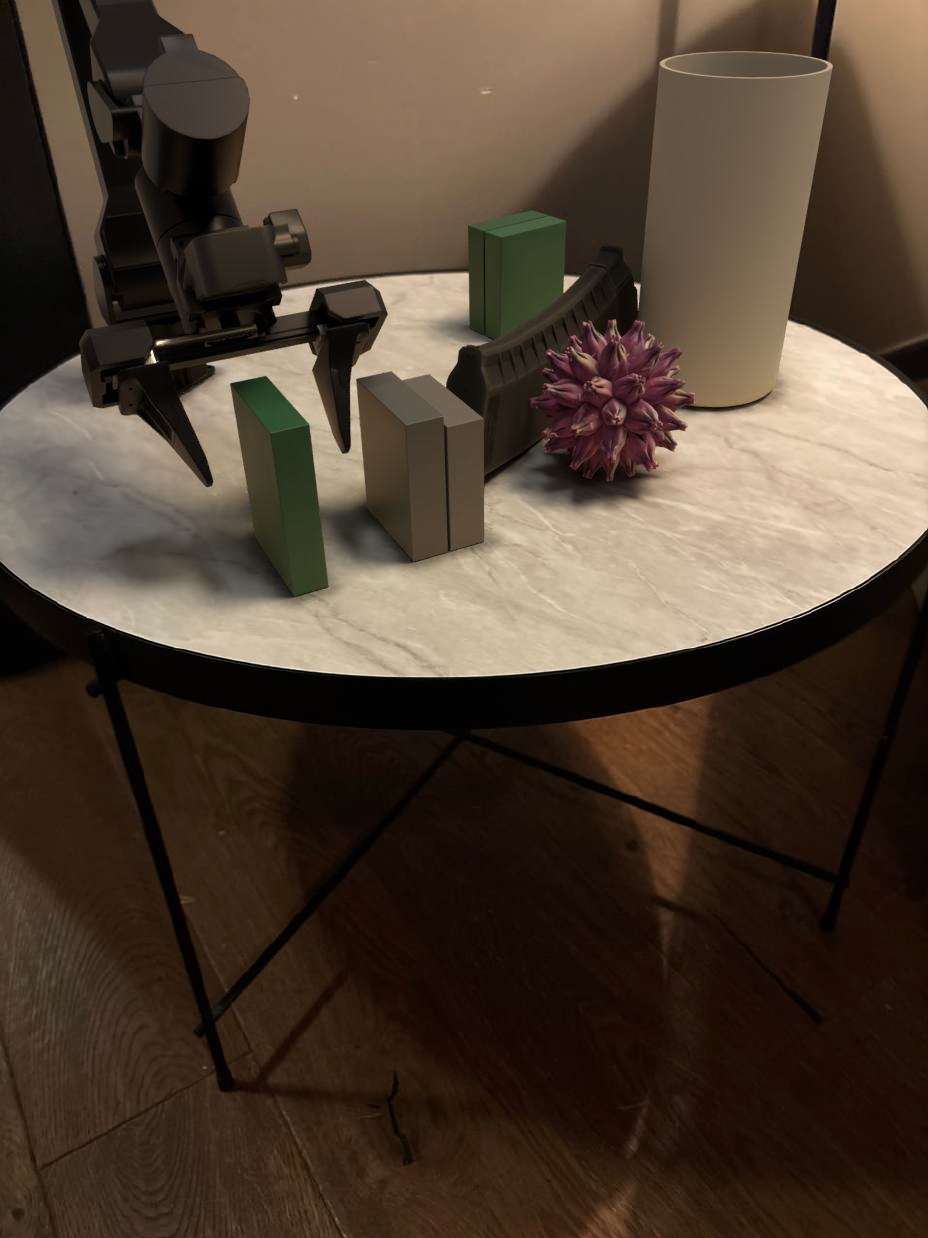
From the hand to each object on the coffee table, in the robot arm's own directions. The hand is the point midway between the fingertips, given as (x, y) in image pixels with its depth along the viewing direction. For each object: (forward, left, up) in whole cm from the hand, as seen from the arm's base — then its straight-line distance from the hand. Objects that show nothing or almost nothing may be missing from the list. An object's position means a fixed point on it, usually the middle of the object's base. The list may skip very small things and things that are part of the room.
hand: (280, 467), depth 63 cm
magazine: (+8, +28, -8) cm, 30 cm away
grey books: (+6, +8, -7) cm, 12 cm away
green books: (-2, +46, -7) cm, 47 cm away
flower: (+16, +20, -8) cm, 27 cm away
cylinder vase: (+19, +39, -8) cm, 44 cm away
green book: (0, 0, -7) cm, 7 cm away
